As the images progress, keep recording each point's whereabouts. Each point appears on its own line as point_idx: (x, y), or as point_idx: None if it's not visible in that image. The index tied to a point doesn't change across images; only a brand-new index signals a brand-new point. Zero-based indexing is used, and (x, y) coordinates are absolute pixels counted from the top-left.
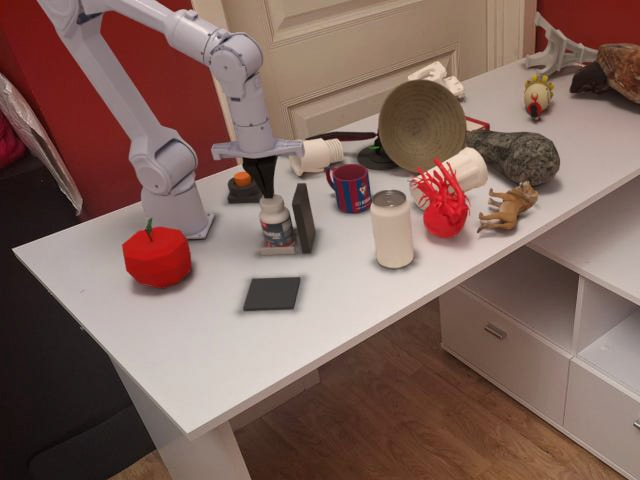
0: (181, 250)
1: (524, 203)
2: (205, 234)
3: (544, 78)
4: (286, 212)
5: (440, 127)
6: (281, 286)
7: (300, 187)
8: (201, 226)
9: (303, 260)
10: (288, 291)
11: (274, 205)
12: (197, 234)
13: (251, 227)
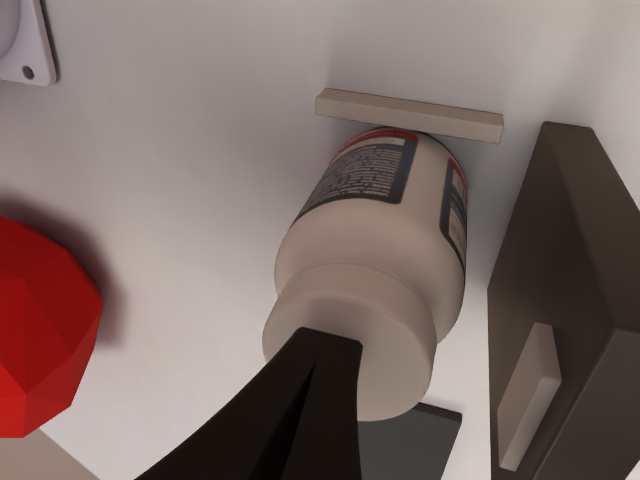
0: (43, 401)
1: None
2: (47, 68)
3: None
4: (443, 330)
5: None
6: (396, 439)
7: (623, 406)
8: (2, 28)
9: (485, 328)
10: (418, 463)
11: (369, 420)
12: (15, 61)
13: (233, 7)
